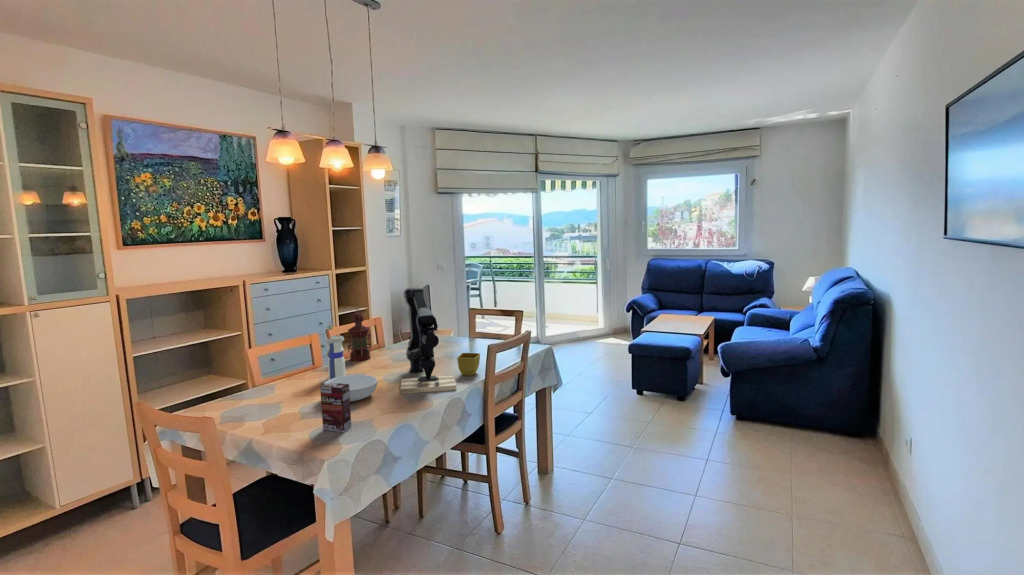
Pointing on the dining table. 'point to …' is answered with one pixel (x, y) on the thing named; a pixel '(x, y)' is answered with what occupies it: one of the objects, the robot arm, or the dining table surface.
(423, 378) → the dark grey chamfered block
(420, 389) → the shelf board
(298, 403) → the dining table surface
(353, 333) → the lantern
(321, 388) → the supplement box
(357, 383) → the serving bowl
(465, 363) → the flower pot
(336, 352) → the water bottle
